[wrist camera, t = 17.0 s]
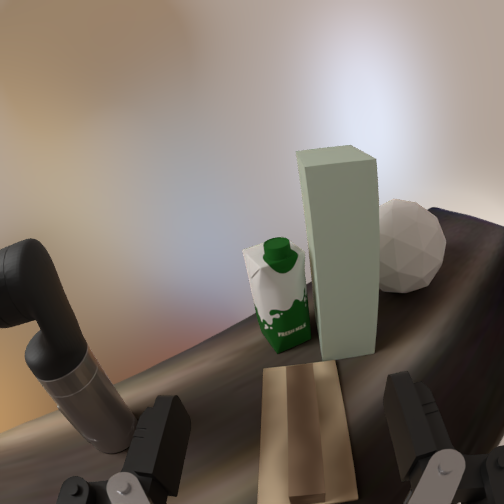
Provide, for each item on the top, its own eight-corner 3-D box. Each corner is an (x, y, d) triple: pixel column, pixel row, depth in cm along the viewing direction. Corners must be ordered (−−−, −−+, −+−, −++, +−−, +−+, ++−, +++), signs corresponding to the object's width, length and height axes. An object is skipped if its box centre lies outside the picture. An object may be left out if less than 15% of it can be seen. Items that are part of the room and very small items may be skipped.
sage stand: (322, 361, 50) (304, 167, 36) (314, 315, 62) (295, 151, 48) (374, 353, 49) (376, 159, 35) (358, 308, 61) (350, 145, 47)
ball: (376, 313, 68) (322, 248, 67) (420, 255, 73) (374, 194, 72) (431, 317, 50) (369, 232, 49) (474, 245, 54) (424, 167, 53)
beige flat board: (258, 509, 29) (257, 508, 28) (263, 370, 51) (263, 368, 51) (357, 499, 27) (358, 498, 27) (335, 362, 50) (334, 359, 49)
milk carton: (275, 359, 53) (255, 257, 44) (255, 331, 61) (234, 237, 52) (318, 339, 55) (309, 239, 47) (295, 315, 63) (282, 222, 55)
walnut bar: (291, 505, 28) (288, 496, 26) (288, 383, 47) (285, 366, 45) (325, 502, 28) (325, 492, 26) (313, 380, 46) (312, 363, 45)
